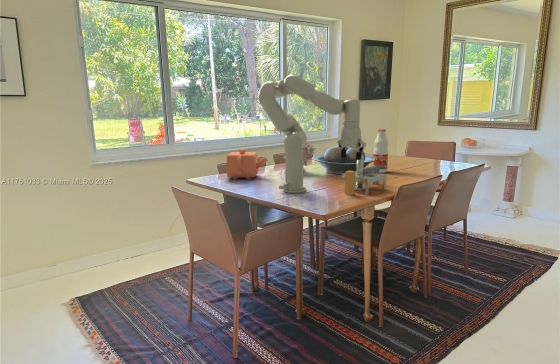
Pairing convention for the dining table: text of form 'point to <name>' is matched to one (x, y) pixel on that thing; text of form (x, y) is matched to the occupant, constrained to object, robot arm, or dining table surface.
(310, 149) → the flower
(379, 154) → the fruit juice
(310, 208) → the dining table surface
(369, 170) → the bracket
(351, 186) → the mustard rectangular block
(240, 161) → the teapot
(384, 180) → the grey metal piece
